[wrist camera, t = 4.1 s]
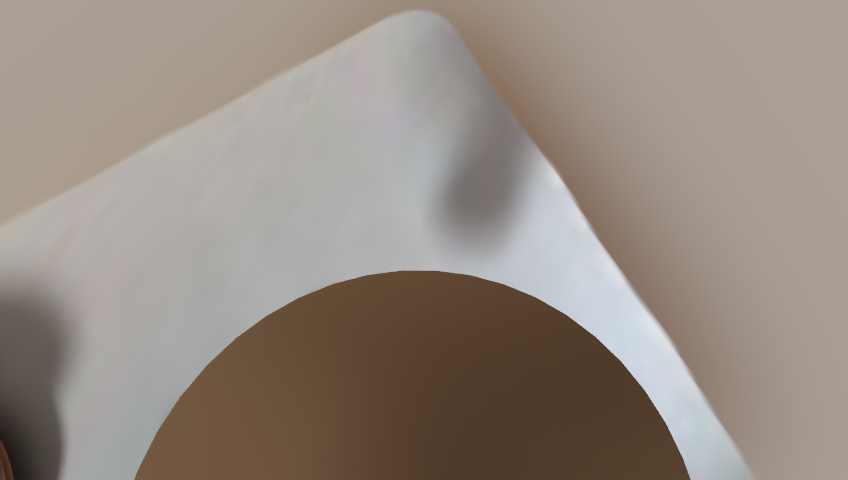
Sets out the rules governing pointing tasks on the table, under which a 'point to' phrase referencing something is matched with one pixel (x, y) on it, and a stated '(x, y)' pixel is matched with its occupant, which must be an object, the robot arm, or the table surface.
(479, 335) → the bobbin
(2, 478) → the cup and saucer
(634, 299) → the table surface
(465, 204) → the table surface
